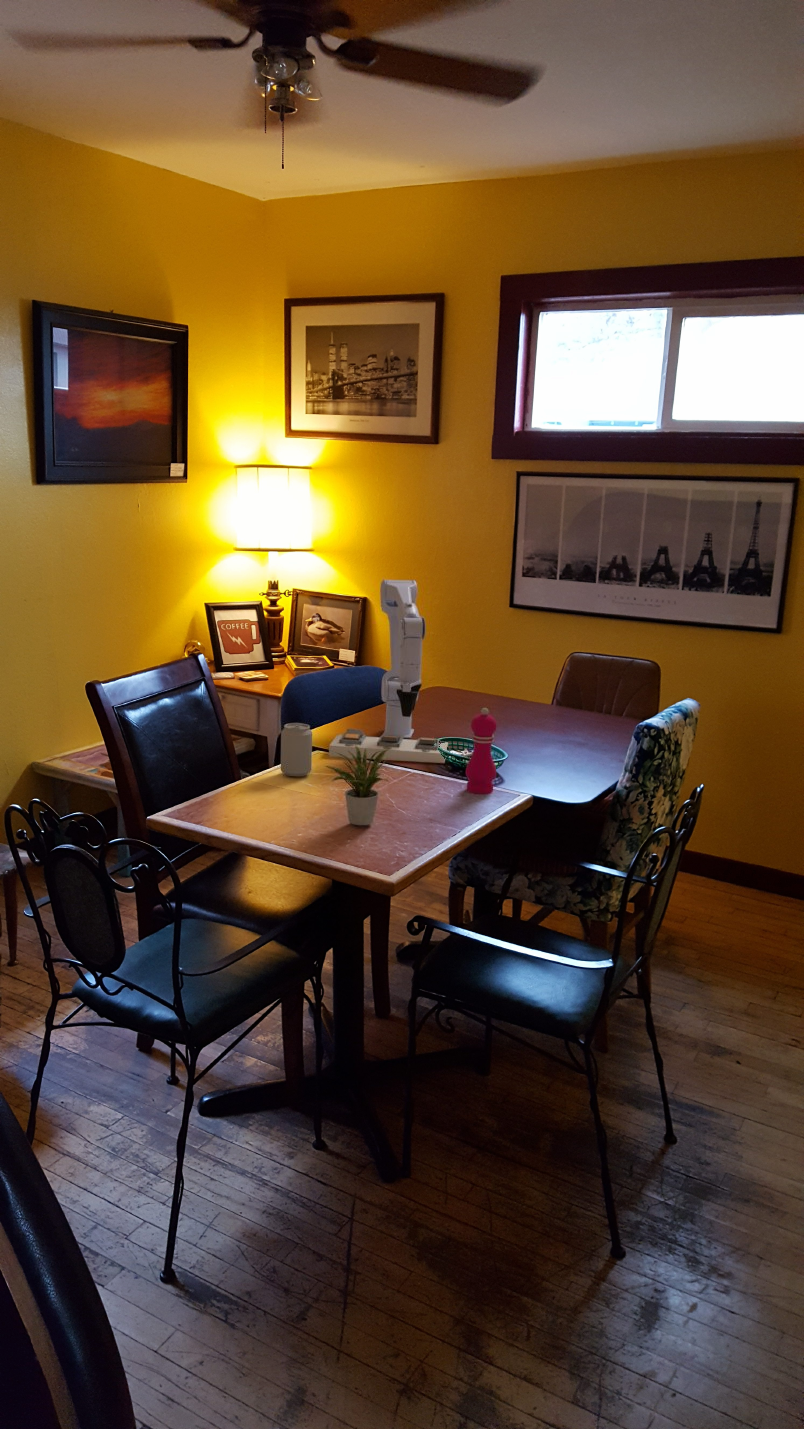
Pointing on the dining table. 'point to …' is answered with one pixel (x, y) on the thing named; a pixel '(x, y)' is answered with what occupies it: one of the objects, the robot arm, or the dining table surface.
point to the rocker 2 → (389, 738)
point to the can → (296, 749)
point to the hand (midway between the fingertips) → (408, 713)
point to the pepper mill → (482, 755)
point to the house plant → (361, 787)
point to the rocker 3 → (428, 740)
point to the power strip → (399, 751)
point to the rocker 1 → (353, 734)
